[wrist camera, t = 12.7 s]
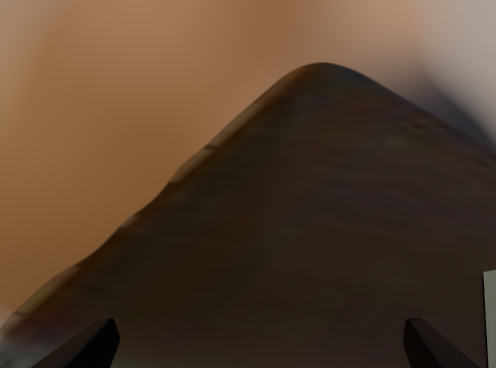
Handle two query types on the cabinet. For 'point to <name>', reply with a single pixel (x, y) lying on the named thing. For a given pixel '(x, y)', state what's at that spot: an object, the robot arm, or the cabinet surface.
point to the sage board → (490, 315)
